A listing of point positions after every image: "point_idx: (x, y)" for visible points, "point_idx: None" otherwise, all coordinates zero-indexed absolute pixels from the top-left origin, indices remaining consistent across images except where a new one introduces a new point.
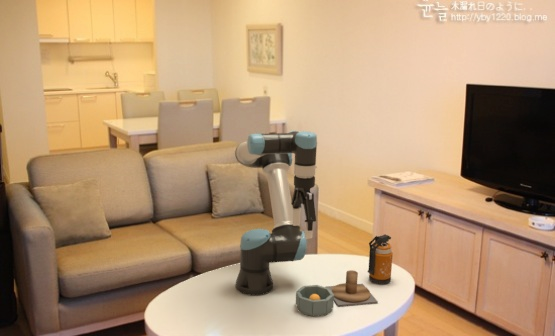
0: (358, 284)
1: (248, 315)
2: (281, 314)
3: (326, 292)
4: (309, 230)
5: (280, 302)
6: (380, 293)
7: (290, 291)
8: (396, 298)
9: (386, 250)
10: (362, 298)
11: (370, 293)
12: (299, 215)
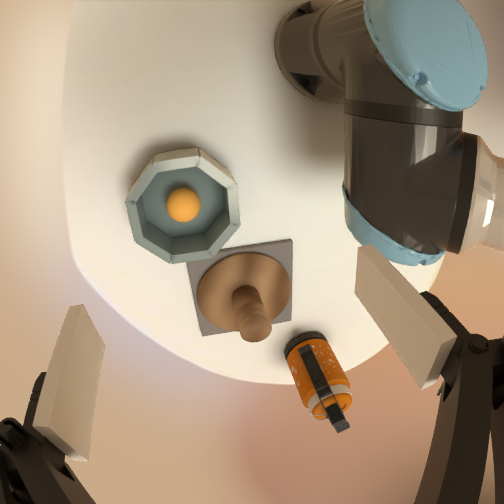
0: (288, 312)
1: (153, 13)
2: (149, 102)
3: (207, 244)
4: (43, 380)
5: (223, 105)
6: (247, 342)
7: (288, 144)
8: (222, 363)
9: (310, 411)
10: (207, 314)
11: None
12: (393, 339)
